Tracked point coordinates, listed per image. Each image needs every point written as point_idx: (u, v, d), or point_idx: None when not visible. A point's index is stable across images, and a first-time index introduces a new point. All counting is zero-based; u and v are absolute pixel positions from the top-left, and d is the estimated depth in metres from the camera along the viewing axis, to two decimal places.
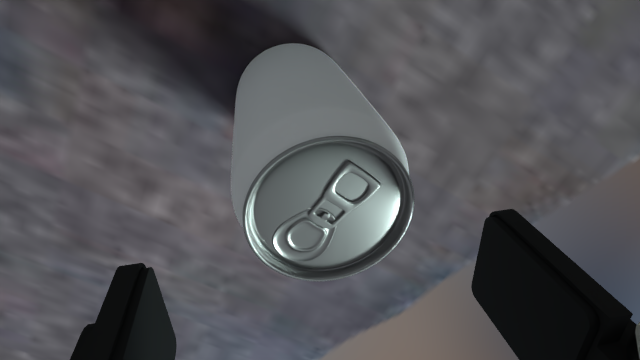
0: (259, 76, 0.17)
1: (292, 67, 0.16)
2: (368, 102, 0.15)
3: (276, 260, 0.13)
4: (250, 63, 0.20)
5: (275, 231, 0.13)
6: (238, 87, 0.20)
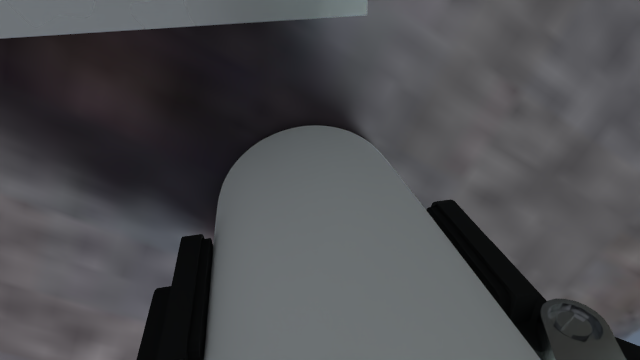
0: (256, 222, 0.09)
1: (325, 217, 0.08)
2: (513, 329, 0.06)
3: None
4: (240, 161, 0.12)
5: None
6: (219, 205, 0.12)
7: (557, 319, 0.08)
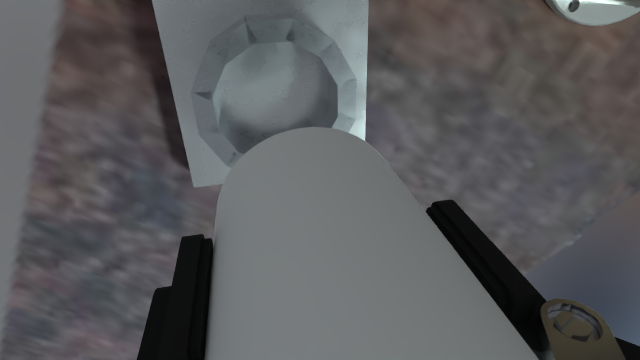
0: (256, 224, 0.09)
1: (325, 219, 0.08)
2: (512, 331, 0.06)
3: None
4: (239, 163, 0.12)
5: None
6: (219, 207, 0.12)
7: (557, 319, 0.08)
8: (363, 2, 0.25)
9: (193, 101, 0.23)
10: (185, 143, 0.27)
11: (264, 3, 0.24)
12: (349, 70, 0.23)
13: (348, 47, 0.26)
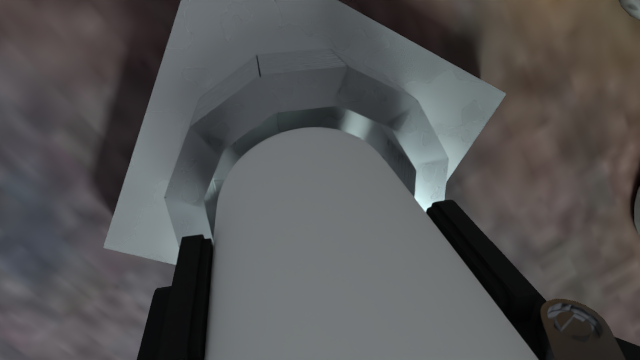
0: (256, 224, 0.09)
1: (325, 219, 0.08)
2: (512, 331, 0.06)
3: None
4: (239, 163, 0.12)
5: None
6: (219, 207, 0.12)
7: (557, 319, 0.08)
8: (483, 115, 0.17)
9: (186, 142, 0.12)
10: (127, 181, 0.15)
11: (365, 47, 0.14)
12: None
13: None
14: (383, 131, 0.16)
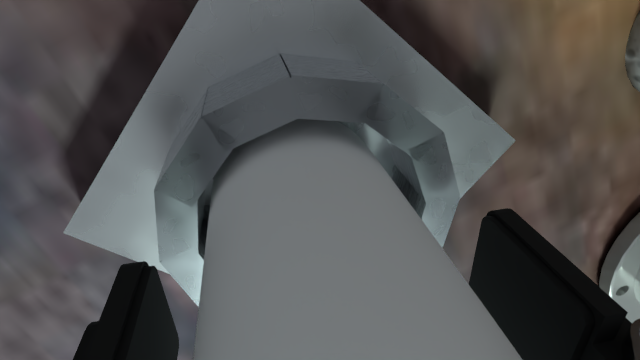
0: (246, 193, 0.10)
1: (304, 186, 0.09)
2: (456, 275, 0.08)
3: None
4: None
5: None
6: (214, 185, 0.13)
7: None
8: (490, 158, 0.17)
9: (193, 133, 0.11)
10: (107, 163, 0.14)
11: (392, 67, 0.14)
12: (441, 242, 0.14)
13: None
14: (391, 156, 0.16)
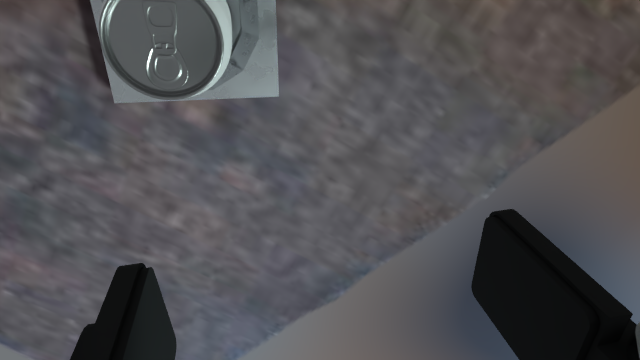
0: None
1: None
2: None
3: (166, 94, 0.20)
4: None
5: (147, 74, 0.19)
6: None
7: None
8: None
9: None
10: None
11: None
12: None
13: None
14: None
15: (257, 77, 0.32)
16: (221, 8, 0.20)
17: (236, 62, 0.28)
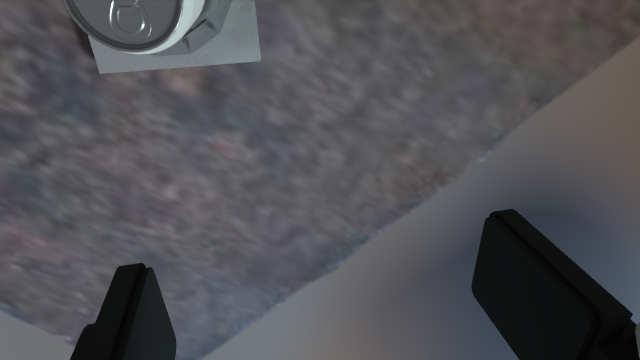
0: None
1: None
2: None
3: (132, 47, 0.20)
4: None
5: (110, 27, 0.20)
6: None
7: None
8: None
9: None
10: None
11: None
12: None
13: None
14: None
15: (238, 42, 0.32)
16: None
17: (213, 25, 0.28)
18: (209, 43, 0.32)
